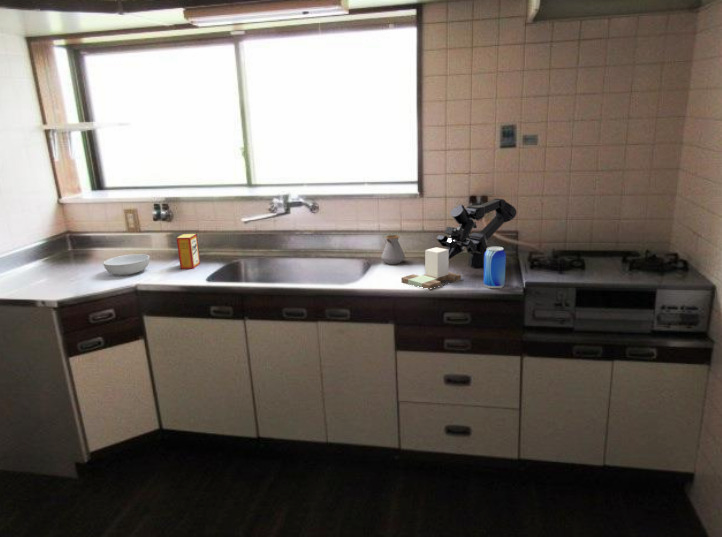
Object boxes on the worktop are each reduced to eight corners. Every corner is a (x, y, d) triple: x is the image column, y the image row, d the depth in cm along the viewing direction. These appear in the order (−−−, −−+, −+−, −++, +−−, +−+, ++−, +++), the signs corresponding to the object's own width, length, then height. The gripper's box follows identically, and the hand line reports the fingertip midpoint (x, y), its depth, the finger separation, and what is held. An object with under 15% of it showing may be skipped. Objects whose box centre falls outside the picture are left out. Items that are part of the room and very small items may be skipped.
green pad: (422, 279, 230) (422, 275, 229) (436, 283, 224) (436, 278, 223) (408, 284, 224) (408, 279, 224) (422, 288, 218) (422, 283, 218)
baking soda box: (187, 264, 271) (183, 233, 267) (200, 263, 271) (196, 233, 267) (180, 269, 262) (176, 237, 258) (193, 268, 262) (189, 237, 258)
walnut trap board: (433, 272, 240) (433, 268, 239) (461, 279, 228) (461, 275, 227) (401, 282, 227) (401, 277, 227) (429, 290, 215) (429, 285, 215)
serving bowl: (127, 265, 272) (125, 252, 271) (160, 268, 266) (158, 254, 264) (95, 277, 254) (92, 263, 252) (130, 280, 247) (128, 265, 245)
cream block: (436, 271, 234) (436, 247, 231) (448, 274, 229) (448, 249, 226) (425, 274, 230) (425, 250, 227) (437, 277, 224) (437, 252, 221)
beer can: (492, 282, 223) (493, 244, 218) (508, 286, 216) (510, 248, 212) (479, 286, 218) (480, 248, 213) (495, 290, 211) (497, 251, 207)
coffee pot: (383, 259, 266) (382, 229, 262) (406, 259, 264) (406, 229, 260) (375, 270, 246) (374, 239, 242) (400, 271, 244) (400, 239, 240)
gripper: (439, 217, 237) (422, 245, 234) (472, 221, 224) (455, 252, 220) (450, 231, 244) (434, 259, 241) (483, 237, 231) (467, 266, 227)
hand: (447, 259), depth 232 cm, fingers closed
